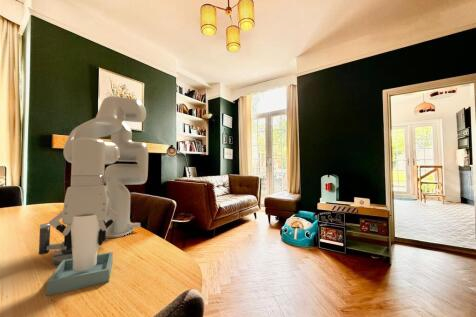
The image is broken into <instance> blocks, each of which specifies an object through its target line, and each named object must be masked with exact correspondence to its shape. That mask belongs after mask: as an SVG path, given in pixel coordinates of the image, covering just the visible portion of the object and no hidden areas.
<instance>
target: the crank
mask: <svg viewBox="0 0 476 317" xmlns="http://www.w3.org/2000/svg"><path fill="white" fill-rule="evenodd" d="M50 242H51V225H50V224H49V222H46V223H41V224H40V225H39V240H38V255H41V256H43V255H47V254H49V252H50V251H51V250H59V249H60V250H61V253H64V254H66V253H72V248H71V249H70V250H66V248H67V246H65V247H64V240H63V241H61V242H60V243H52V244H51V243H50Z"/></svg>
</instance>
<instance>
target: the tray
mask: <svg viewBox="0 0 476 317" xmlns="http://www.w3.org/2000/svg"><path fill="white" fill-rule="evenodd" d="M113 259H114V251H110V252H104V253H99V254H98V253H97V264H96V266H95V267H94V268H92V269H90V270H87V271H84V272H75V271H73V259H67V260H62V262H61V263H60V265H59V266H57V268H56V269H55V270H54V272H52V274H51V276H50V277H49V278H48V280H47V281H46V288H45V289H46V290H45V292H46V294H45V296H46V297H48V296H52V295H57V294H61V293H66V292H71V291H75V290H79V289H84V288H89V287H91V286H96V285H100V284H101V285H102V284H106V283H109V282H110V278H111V271H112V268H113V262H114V261H113Z"/></svg>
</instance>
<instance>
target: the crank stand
mask: <svg viewBox="0 0 476 317" xmlns="http://www.w3.org/2000/svg"><path fill="white" fill-rule="evenodd" d="M67 259H73V258H72V253H66V254H64V253H61V249H60V250H59V249H58V250H57V251H56V252H54V253H53V254H52V263H51V264H52V265H53V266H57V267H58V266H59V265H60V263H61V262H62V260H67Z"/></svg>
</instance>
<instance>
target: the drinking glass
mask: <svg viewBox="0 0 476 317" xmlns="http://www.w3.org/2000/svg"><path fill="white" fill-rule="evenodd" d="M100 229H101V228H100V226H99V222H98V221H97V216H96V215H90V216H80V217H77V216H74V217H73V222H72V224H71V244H72V258H73V271H75V272H84V271H87V270H90V269H92V268H94V267H95V266H96V264H97V254H98V252H99V251H98V250H99V246H100V245H99V231H100Z"/></svg>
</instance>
